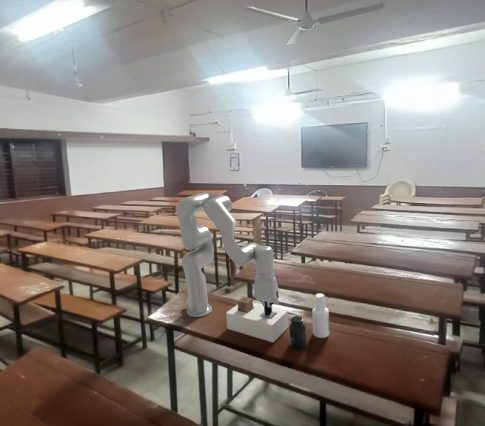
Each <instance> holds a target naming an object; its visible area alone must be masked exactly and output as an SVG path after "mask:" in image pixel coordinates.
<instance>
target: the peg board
mask: <svg viewBox="0 0 485 426" xmlns="http://www.w3.org/2000/svg"><path fill="white" fill-rule="evenodd" d="M272 312H276V315H275V316H274V317H273V318H272V319H268V318H264V317H261V316H260V315H261V314H262V313H264V306H263V304H262V303H260V302H259V303H257V302H254V301H253V309H252V310H251V311H250V312H248V313H245V312H241V311H238V304H237V303H236V305H235V306H233V307H231V309H229V310H228V311H226V312H225V315H226V316H225V317H226V325H227V330H230V331H233V332H237V333H241V334H243V335H247V336H250V337H254V338H257V339H260V340H264V341H266V342H270V343H274V342H276V341H277V340H278V338H279V337H281V335H282V334H283V333H284V332H285V331H286V330H287V329H289V325H290V322H289V310H287V309H283V308H279V307H275V306H272Z"/></svg>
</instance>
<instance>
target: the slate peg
mask: <svg viewBox="0 0 485 426" xmlns="http://www.w3.org/2000/svg"><path fill="white" fill-rule="evenodd" d="M275 315H276V312H272V313H271V314H270V315H269V316H268V315H265V312H264V313H262V314H261V315H260V316H261V317H264V318H268V319H272V318H273V317H274V316H275Z"/></svg>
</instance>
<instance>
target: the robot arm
mask: <svg viewBox="0 0 485 426" xmlns="http://www.w3.org/2000/svg"><path fill="white" fill-rule="evenodd" d="M232 208H233V203H232V201H231V199H230V198H229V197H228V196H226V195H223V194H219V193H212V192H206V191H205V192H201V193H197V194H194V195H190V196H186V197H184V198H182V199H181V200H179V201H178V202H177V204H176V209H175V211H176V212H175V213H176V216H177V218H178V219H177V220H178V223H179V230H180V231H179V233H180V237H181V238H180V239H181V243H182V247H183V248H184V249H185V250H188V251H189V252H187V253H186V254H184V255H183V257H182V258H181V266H182V269H183V271H184V275H185V283H186V290H187V297H188V299H186V300H185V303H184V306H187V309H186V314H187V315H188V316H189V317H192V318H201V317H204V316H207V315H210V313H211V312H212V311H213V308H212V305H210V304H209V301H208V300H209V298H208V291H207V289H208V288H207V281H206V276H205V274H204V272H203V271H202V269H203V268H204V267H206V266H209V264H211V263H212V262H213V260H214V257H215V254H214V245H213V237H212V234H211V231H210V230H209V228H208V227H207V226H205V225H198V219H197V218H196V217H195V215H197V214H199V213H201V212H204V213H205V214H206V216H207V217H208V218H209V220H210V221H211V222H212V224H214V226H215V227H216V229H217V230H218V231H219V232H220V234H221V241H222V246H223V248H224V251H225V253H226V255H228V257H229V258H230V259H231V260H232V262H233V263H234V264H235V265H236V266H239V267H245V266H247V265H248V264H250V263H252V262H254V261H255V270H254V272H253V273H254V274H256V276H255V277H254V284H253V286H254V287H253V293H254V294H253V295H254V299H256V301H259V302H260V304H263V306H264V312H265V315H268V316H269V315H270V314H271V313H272V307H273V305H278V304H279V303H280V301H279V298H280V293H279V286H278V281H277V277H275V266H274V265H275V264H274V252H273V248H272V247H271V246H269V245H262V244H259V243H255V242H249V243H247V244H245V245H243V246H239V244H238V242H237V241H236V240H235V236H234V231H235V229H236V227H237V224H238V222H237V220H236V219H235V218H234V217H233V216H232V214H231V213H230V212H231V210H232Z"/></svg>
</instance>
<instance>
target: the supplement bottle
mask: <svg viewBox="0 0 485 426" xmlns="http://www.w3.org/2000/svg"><path fill="white" fill-rule="evenodd" d="M290 320H291V321H290V323H289V327H288V333H289V335H288V336H289V337H288V338H289V345H290V347H291V348H292V349H293V350H299V351H300V350H303V349H305V348H306V346H307V327H306V324H304V318H303V317H302V316H300V315H299V316H298V315H295V316H292V317H291V318H290Z"/></svg>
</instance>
